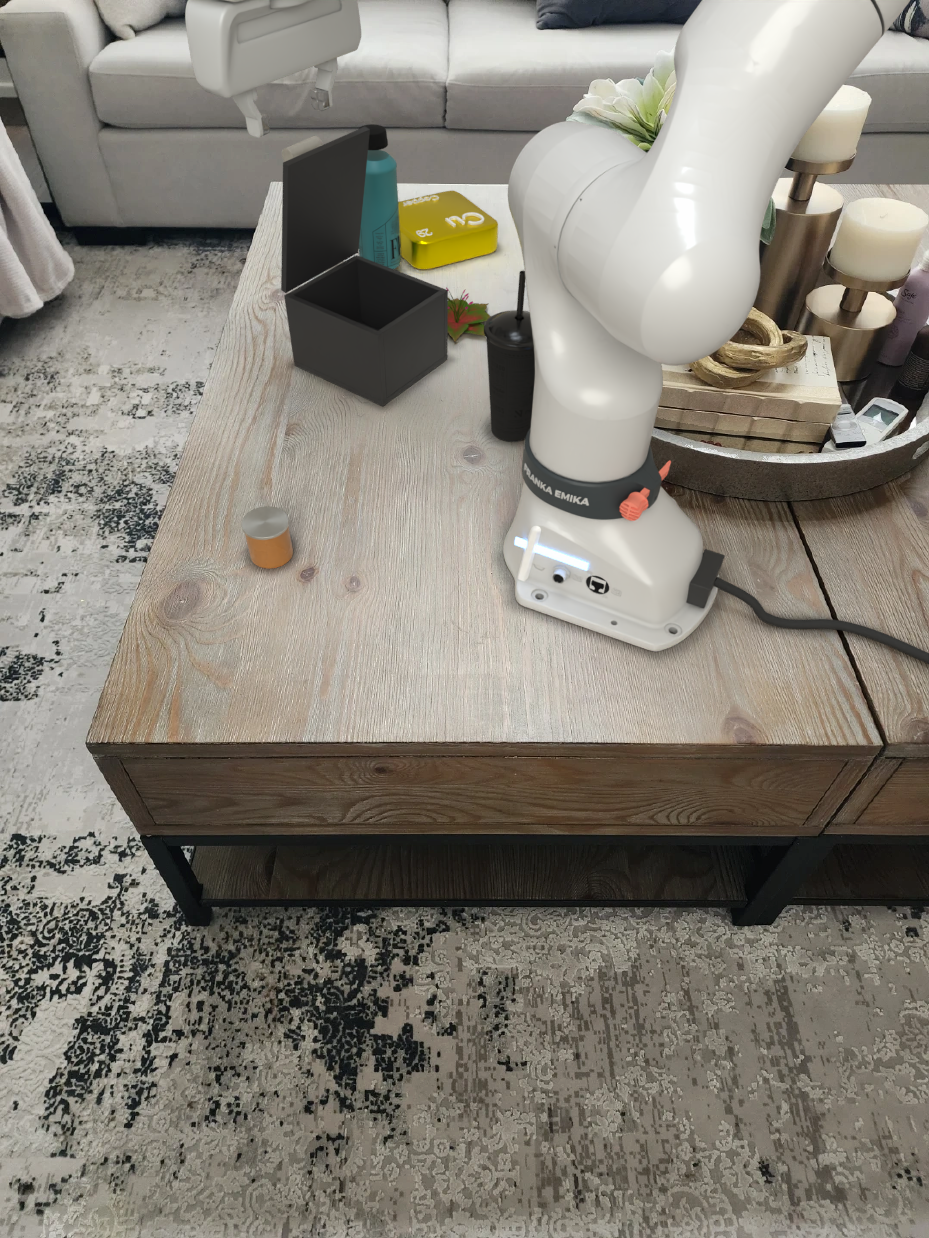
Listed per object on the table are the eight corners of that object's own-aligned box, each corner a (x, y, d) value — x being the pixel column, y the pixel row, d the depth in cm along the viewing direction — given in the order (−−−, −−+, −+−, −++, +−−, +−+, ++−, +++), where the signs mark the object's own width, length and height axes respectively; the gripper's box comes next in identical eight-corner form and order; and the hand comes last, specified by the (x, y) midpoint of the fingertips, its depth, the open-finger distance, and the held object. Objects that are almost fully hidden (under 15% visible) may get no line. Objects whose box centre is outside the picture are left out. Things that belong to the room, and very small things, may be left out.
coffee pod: (303, 550, 89) (298, 518, 85) (272, 576, 86) (265, 544, 83) (271, 532, 91) (264, 500, 87) (239, 556, 88) (231, 524, 85)
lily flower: (498, 347, 116) (500, 316, 112) (410, 344, 116) (409, 313, 112) (499, 303, 123) (500, 273, 120) (417, 300, 123) (416, 269, 120)
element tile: (454, 214, 142) (454, 185, 139) (501, 251, 134) (503, 221, 130) (374, 233, 137) (372, 203, 134) (418, 273, 129) (417, 242, 125)
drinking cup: (469, 438, 102) (474, 279, 87) (495, 405, 107) (504, 249, 92) (527, 456, 100) (543, 297, 85) (551, 422, 105) (570, 264, 90)
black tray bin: (447, 359, 113) (448, 290, 106) (382, 406, 106) (378, 335, 99) (361, 323, 119) (356, 254, 112) (294, 365, 112) (283, 295, 104)
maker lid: (370, 129, 98) (337, 110, 99) (288, 166, 91) (253, 144, 92) (358, 252, 111) (329, 234, 112) (285, 293, 104) (255, 273, 105)
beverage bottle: (396, 284, 126) (390, 139, 111) (353, 279, 127) (341, 134, 112) (407, 264, 131) (402, 121, 116) (365, 259, 131) (355, 117, 116)
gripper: (321, -69, 84) (335, 88, 95) (162, -29, 73) (197, 143, 84) (370, -60, 82) (379, 100, 92) (213, -17, 71) (243, 159, 81)
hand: (291, 121), depth 88 cm, fingers open, 8 cm apart
